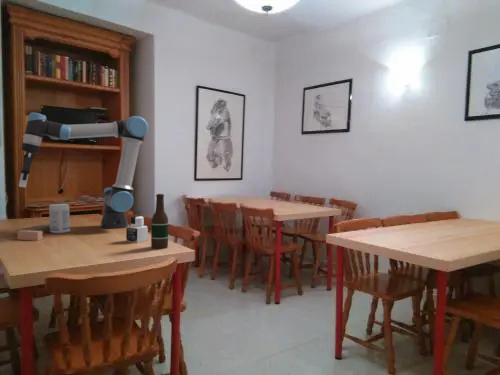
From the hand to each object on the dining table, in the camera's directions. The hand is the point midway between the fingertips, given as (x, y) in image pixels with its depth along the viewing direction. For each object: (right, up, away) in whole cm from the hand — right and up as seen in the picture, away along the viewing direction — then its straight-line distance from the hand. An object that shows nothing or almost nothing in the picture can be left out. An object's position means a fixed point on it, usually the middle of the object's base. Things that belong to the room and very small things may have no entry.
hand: (22, 186), depth 179 cm
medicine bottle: (+56, -26, -1) cm, 62 cm away
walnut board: (-1, -24, +15) cm, 28 cm away
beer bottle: (+71, -27, -14) cm, 77 cm away
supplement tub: (+9, -24, +18) cm, 32 cm away
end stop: (+5, -25, -3) cm, 26 cm away
